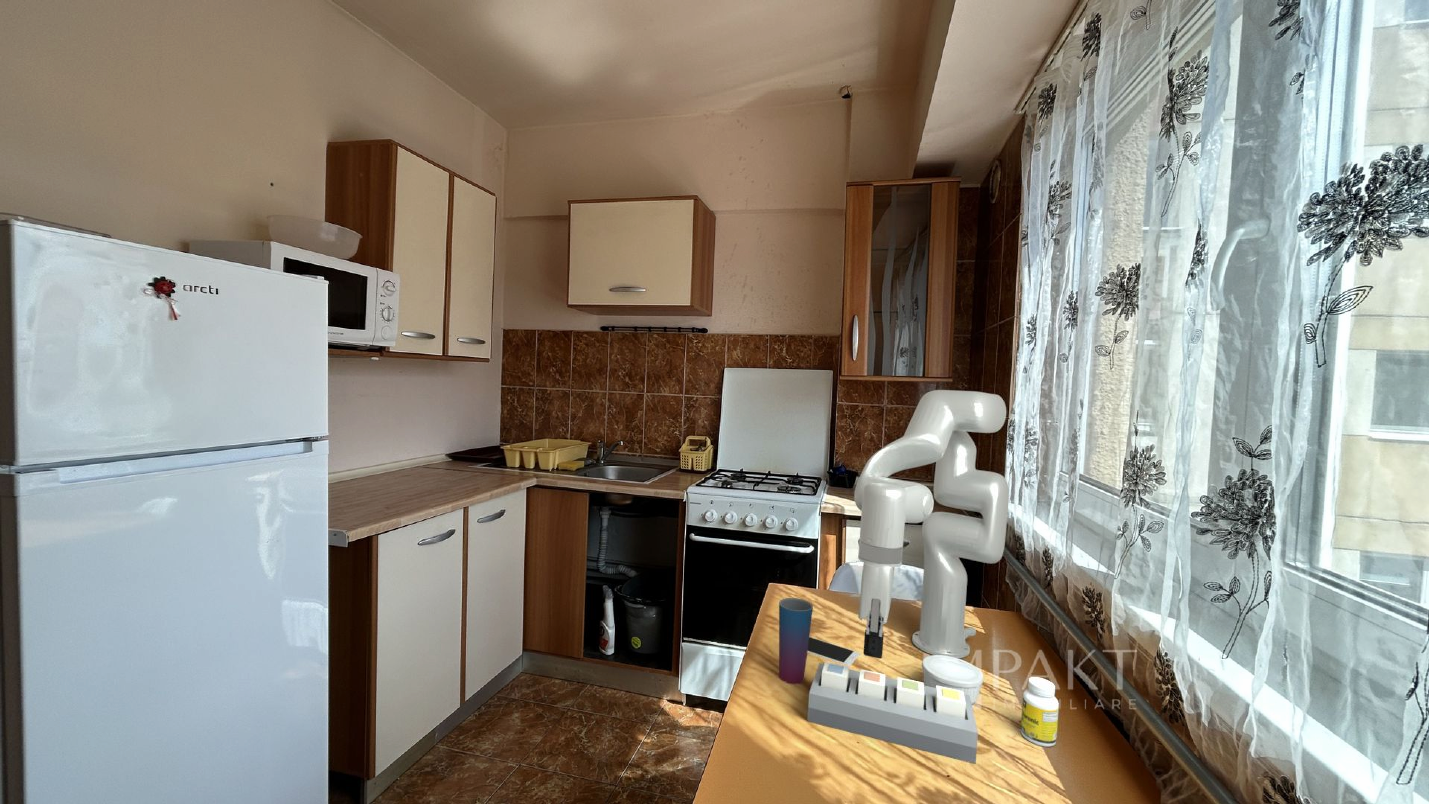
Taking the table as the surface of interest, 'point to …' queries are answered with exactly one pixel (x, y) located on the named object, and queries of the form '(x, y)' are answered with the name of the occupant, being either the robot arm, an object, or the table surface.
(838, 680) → the key slate
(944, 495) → the robot arm
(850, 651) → the smartphone
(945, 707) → the key mustard
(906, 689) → the key olive
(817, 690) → the keypad
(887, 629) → the table surface
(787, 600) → the cup
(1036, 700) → the supplement bottle
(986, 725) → the table surface
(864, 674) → the key terracotta
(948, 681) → the ramekin
